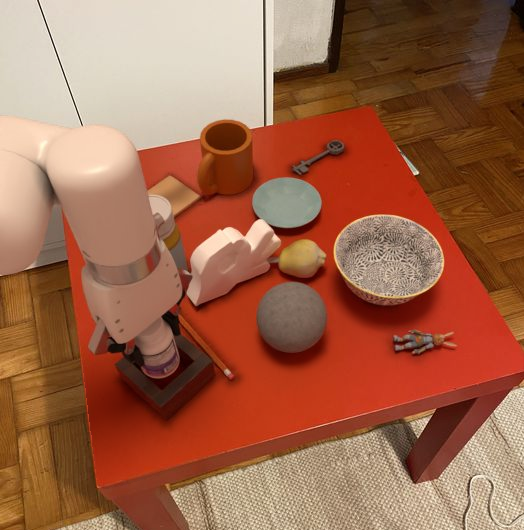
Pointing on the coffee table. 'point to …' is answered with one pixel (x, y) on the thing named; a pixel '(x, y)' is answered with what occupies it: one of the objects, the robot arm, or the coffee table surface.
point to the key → (329, 150)
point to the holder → (179, 388)
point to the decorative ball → (291, 317)
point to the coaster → (175, 194)
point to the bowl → (388, 259)
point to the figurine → (421, 341)
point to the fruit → (300, 259)
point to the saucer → (286, 202)
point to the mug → (225, 158)
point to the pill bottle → (158, 349)
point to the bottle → (169, 230)
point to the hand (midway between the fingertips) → (153, 343)
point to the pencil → (205, 347)
